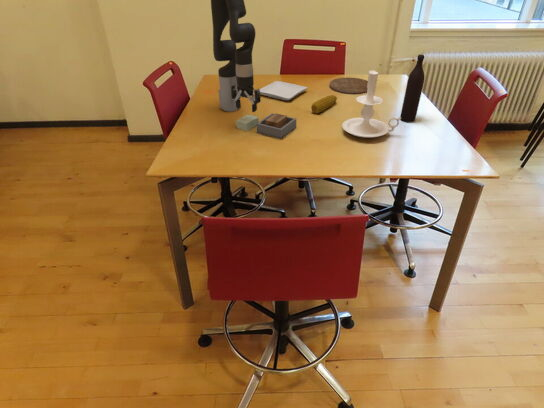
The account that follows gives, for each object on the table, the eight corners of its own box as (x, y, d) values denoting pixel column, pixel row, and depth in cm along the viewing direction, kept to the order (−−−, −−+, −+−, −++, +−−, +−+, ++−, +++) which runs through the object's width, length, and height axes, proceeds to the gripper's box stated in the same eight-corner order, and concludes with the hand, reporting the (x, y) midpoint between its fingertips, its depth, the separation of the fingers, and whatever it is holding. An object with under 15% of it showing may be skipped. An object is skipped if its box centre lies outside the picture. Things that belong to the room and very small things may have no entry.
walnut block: (265, 130, 173) (265, 120, 170) (275, 123, 179) (275, 113, 176) (277, 133, 170) (277, 122, 167) (286, 125, 176) (286, 115, 173)
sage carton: (236, 128, 177) (236, 120, 175) (248, 122, 183) (248, 114, 181) (246, 131, 175) (246, 123, 172) (258, 125, 180) (258, 117, 178)
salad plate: (308, 92, 216) (308, 86, 214) (289, 104, 202) (289, 97, 200) (276, 85, 226) (276, 80, 224) (256, 96, 211) (256, 90, 209)
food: (318, 116, 188) (319, 104, 185) (309, 113, 191) (309, 102, 188) (338, 103, 202) (339, 92, 199) (329, 101, 205) (330, 90, 201)
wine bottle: (416, 118, 185) (430, 54, 168) (413, 123, 180) (428, 58, 162) (401, 115, 188) (414, 52, 170) (398, 121, 182) (411, 56, 165)
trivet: (376, 94, 212) (376, 91, 211) (331, 95, 213) (332, 91, 212) (367, 80, 233) (368, 77, 232) (327, 80, 233) (327, 77, 232)
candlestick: (398, 146, 162) (412, 80, 145) (340, 141, 166) (347, 76, 149) (396, 126, 178) (408, 65, 161) (342, 122, 182) (349, 62, 166)
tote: (256, 132, 173) (256, 123, 170) (272, 121, 183) (272, 113, 180) (281, 139, 167) (281, 129, 165) (296, 127, 177) (296, 118, 175)
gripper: (226, 73, 165) (228, 109, 174) (253, 78, 159) (254, 115, 168) (236, 69, 170) (238, 104, 179) (263, 74, 164) (263, 110, 173)
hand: (246, 109), depth 173 cm, fingers open, 8 cm apart
